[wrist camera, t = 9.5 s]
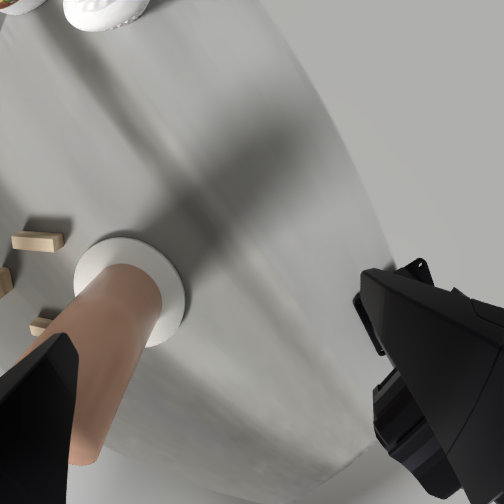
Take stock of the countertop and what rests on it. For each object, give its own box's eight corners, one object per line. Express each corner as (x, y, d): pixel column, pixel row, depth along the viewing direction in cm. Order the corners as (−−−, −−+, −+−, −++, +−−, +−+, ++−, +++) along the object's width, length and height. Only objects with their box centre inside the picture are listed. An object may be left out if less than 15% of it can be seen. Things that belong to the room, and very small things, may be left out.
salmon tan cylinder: (177, 310, 23) (123, 458, 10) (125, 339, 24) (59, 469, 11) (131, 249, 21) (24, 365, 9) (81, 285, 22) (-19, 395, 10)
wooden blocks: (62, 233, 21) (41, 245, 19) (78, 334, 24) (63, 353, 22) (-4, 229, 21) (-26, 240, 18) (14, 320, 24) (-3, 336, 21)
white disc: (209, 313, 24) (208, 318, 23) (125, 358, 25) (123, 362, 24) (136, 212, 21) (133, 214, 20) (58, 274, 22) (54, 277, 22)
